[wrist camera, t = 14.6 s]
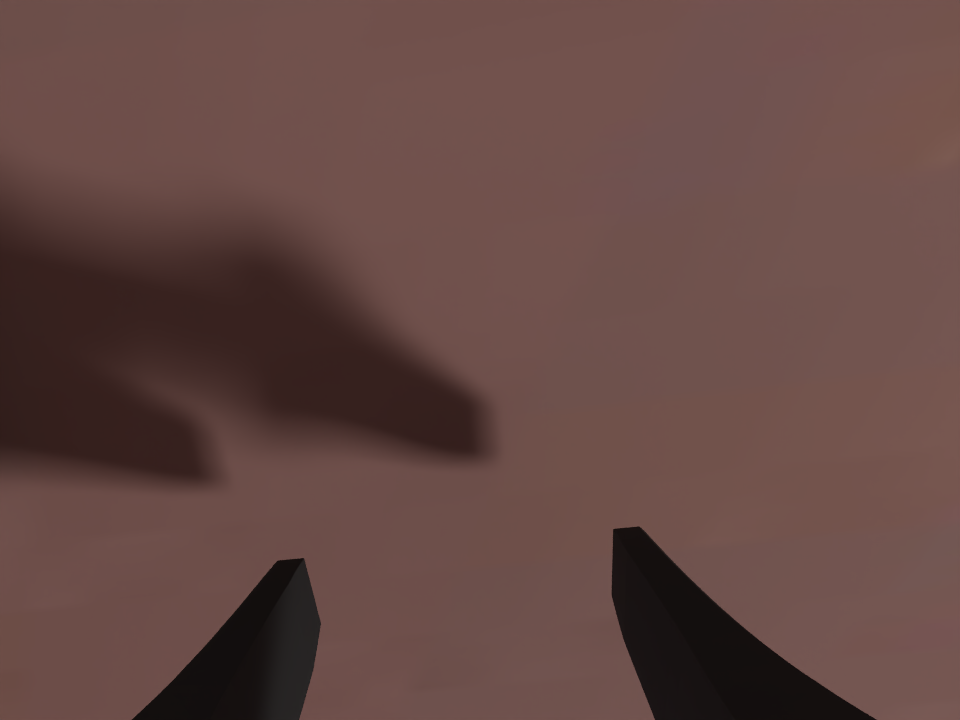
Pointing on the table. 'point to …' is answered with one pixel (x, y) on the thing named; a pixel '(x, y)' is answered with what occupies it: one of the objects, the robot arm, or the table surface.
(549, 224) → the table surface
